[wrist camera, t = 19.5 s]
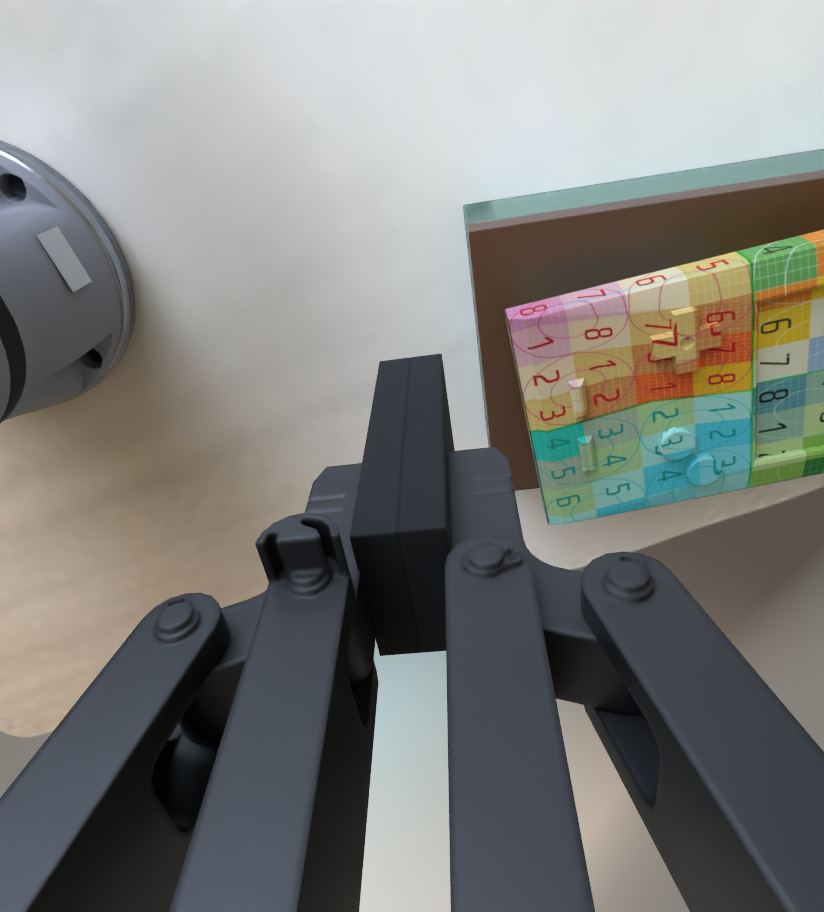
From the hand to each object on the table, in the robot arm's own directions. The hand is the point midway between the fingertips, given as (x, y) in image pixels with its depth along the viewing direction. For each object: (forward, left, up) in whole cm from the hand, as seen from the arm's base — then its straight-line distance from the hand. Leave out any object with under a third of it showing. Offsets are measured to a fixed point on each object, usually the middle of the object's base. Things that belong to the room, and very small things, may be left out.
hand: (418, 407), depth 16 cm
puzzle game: (+14, -8, -17) cm, 23 cm away
